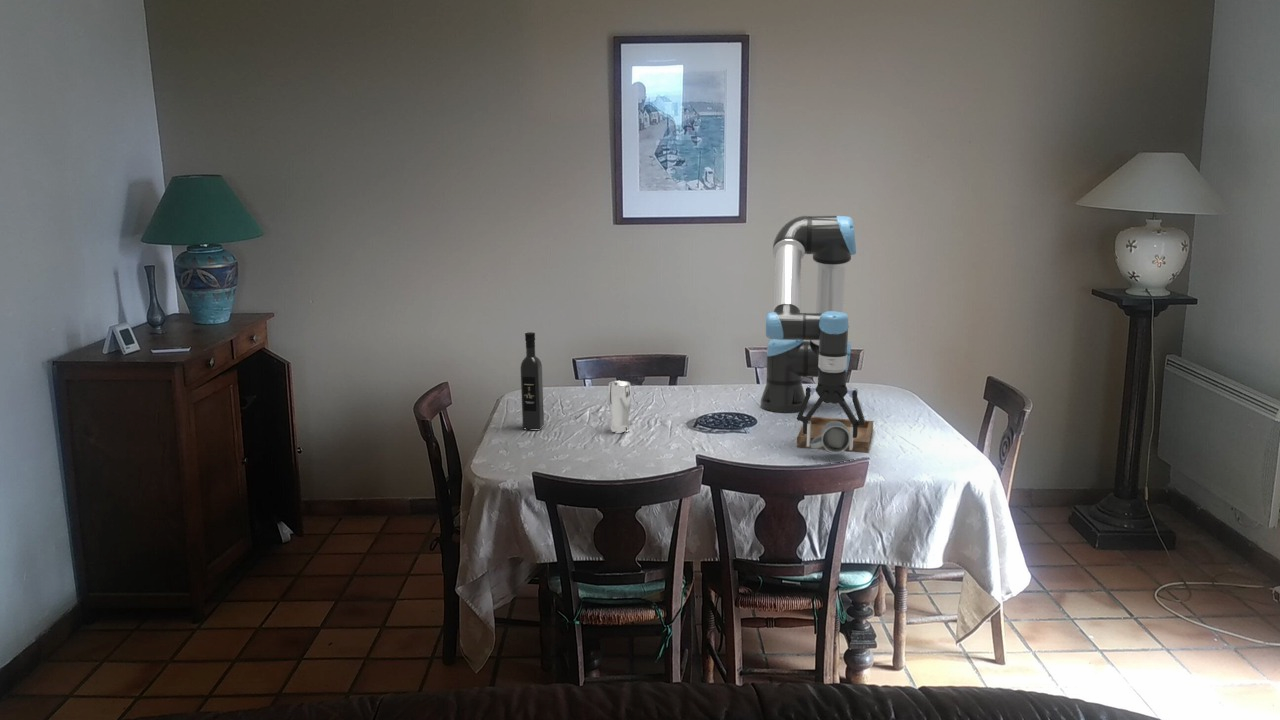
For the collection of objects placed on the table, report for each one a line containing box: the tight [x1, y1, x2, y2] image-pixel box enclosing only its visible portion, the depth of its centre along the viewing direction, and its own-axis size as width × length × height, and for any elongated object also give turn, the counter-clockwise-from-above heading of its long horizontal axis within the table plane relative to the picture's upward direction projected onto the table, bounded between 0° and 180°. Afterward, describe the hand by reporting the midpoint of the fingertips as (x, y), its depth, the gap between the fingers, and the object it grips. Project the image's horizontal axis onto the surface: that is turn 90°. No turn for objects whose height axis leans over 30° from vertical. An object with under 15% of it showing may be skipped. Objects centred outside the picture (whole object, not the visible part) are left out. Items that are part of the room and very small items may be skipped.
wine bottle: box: [519, 331, 545, 430], centre depth 287 cm, size 6×6×30 cm
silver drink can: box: [607, 380, 632, 432], centre depth 285 cm, size 7×7×15 cm
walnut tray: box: [796, 416, 874, 453], centre depth 276 cm, size 20×22×3 cm
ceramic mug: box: [810, 421, 850, 454], centre depth 258 cm, size 11×8×8 cm
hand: (829, 446), depth 258 cm, fingers closed on ceramic mug, 11 cm apart
